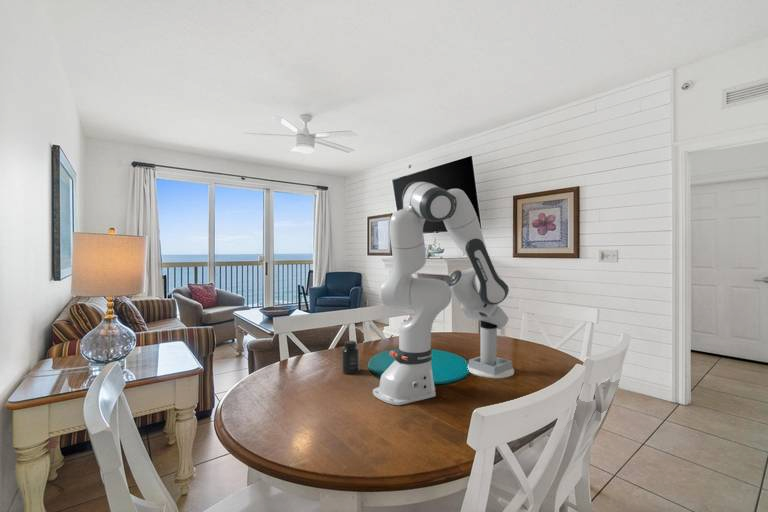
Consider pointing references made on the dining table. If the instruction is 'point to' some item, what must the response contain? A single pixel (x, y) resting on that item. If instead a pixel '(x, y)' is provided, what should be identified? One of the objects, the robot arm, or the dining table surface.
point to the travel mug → (488, 343)
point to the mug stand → (491, 368)
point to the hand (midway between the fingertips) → (493, 325)
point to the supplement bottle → (350, 358)
